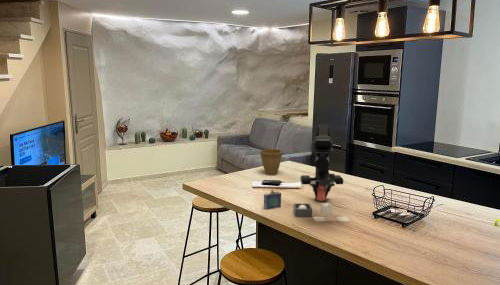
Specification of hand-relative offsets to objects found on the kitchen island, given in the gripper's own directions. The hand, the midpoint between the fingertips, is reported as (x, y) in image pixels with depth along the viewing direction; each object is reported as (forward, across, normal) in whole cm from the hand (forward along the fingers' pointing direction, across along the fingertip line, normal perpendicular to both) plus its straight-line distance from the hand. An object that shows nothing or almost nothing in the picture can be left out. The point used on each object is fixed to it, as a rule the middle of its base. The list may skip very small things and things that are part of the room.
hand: (320, 197), depth 171 cm
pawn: (+1, 0, 0) cm, 1 cm away
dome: (+10, -7, +6) cm, 14 cm away
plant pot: (+12, -17, +84) cm, 86 cm away
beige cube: (+11, +5, +9) cm, 15 cm away
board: (+12, +1, +4) cm, 13 cm away
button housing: (+11, -7, +6) cm, 14 cm away
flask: (+12, -21, +16) cm, 29 cm away
